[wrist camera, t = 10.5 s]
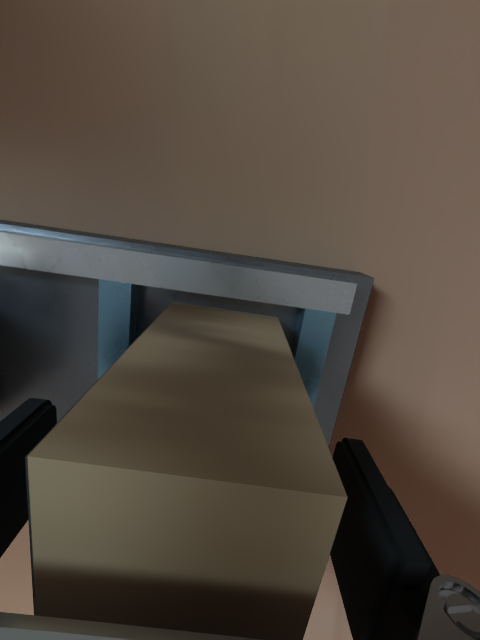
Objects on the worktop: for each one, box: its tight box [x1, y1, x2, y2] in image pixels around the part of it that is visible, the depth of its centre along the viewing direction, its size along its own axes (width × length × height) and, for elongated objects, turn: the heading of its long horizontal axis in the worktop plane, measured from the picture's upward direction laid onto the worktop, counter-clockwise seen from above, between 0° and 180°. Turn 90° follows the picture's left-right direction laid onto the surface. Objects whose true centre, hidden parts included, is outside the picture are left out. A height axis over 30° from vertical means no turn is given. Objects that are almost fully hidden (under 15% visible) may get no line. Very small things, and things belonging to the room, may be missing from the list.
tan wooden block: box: [25, 301, 348, 640], centre depth 10 cm, size 5×8×9 cm, turn 171°
